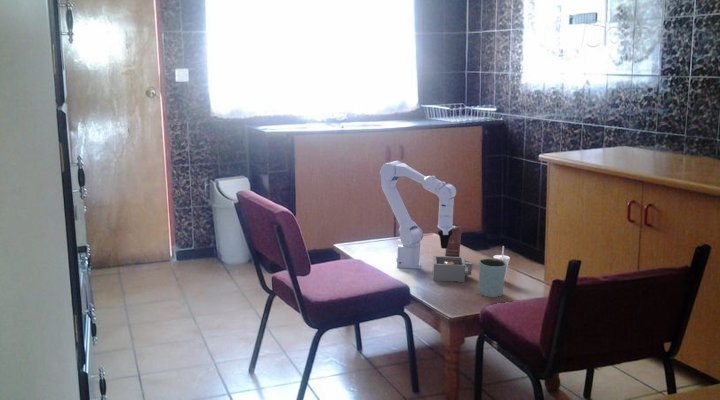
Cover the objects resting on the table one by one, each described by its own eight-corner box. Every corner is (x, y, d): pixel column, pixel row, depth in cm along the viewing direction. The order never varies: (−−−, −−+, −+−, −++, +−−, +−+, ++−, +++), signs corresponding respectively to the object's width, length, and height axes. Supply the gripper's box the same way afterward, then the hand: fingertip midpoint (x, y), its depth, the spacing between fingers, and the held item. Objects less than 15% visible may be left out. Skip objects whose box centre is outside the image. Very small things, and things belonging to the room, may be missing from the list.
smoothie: (498, 284, 280) (501, 249, 277) (488, 279, 286) (490, 244, 283) (511, 282, 283) (514, 247, 280) (501, 277, 289) (503, 243, 286)
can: (459, 260, 311) (461, 228, 309) (444, 258, 313) (446, 227, 310) (460, 256, 317) (462, 224, 314) (445, 255, 318) (447, 223, 316)
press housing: (433, 280, 282) (434, 264, 281) (432, 271, 294) (433, 255, 293) (471, 282, 281) (472, 266, 280) (469, 273, 293) (470, 257, 292)
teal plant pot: (485, 287, 276) (487, 256, 274) (509, 293, 270) (512, 262, 268) (471, 293, 268) (473, 262, 266) (496, 299, 262) (498, 267, 260)
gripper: (456, 219, 282) (454, 253, 284) (455, 211, 296) (453, 243, 299) (438, 218, 282) (436, 252, 285) (437, 210, 296) (435, 243, 299)
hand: (443, 248), depth 292 cm, fingers closed
